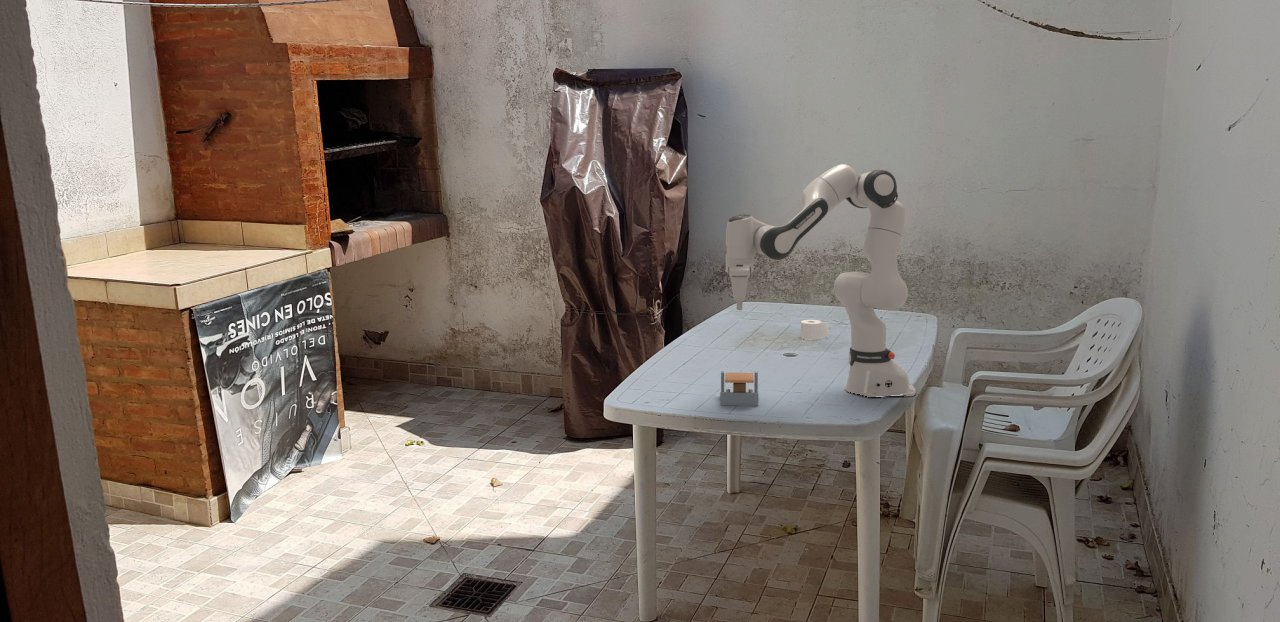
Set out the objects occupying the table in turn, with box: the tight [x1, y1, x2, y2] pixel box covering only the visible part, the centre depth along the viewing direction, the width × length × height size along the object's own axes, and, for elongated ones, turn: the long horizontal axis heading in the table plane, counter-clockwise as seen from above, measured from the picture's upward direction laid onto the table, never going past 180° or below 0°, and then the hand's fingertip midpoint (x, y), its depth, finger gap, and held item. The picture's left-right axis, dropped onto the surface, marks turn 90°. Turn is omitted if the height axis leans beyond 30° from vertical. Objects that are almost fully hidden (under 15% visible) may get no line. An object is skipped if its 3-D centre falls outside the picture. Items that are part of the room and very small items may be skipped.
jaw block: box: [732, 383, 747, 393], centre depth 312 cm, size 4×4×5 cm
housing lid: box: [724, 372, 755, 384], centre depth 312 cm, size 9×11×1 cm
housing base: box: [719, 370, 759, 407], centre depth 314 cm, size 12×11×8 cm
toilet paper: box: [800, 319, 830, 339], centre depth 400 cm, size 8×11×7 cm
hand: (739, 309), depth 312 cm, fingers closed
